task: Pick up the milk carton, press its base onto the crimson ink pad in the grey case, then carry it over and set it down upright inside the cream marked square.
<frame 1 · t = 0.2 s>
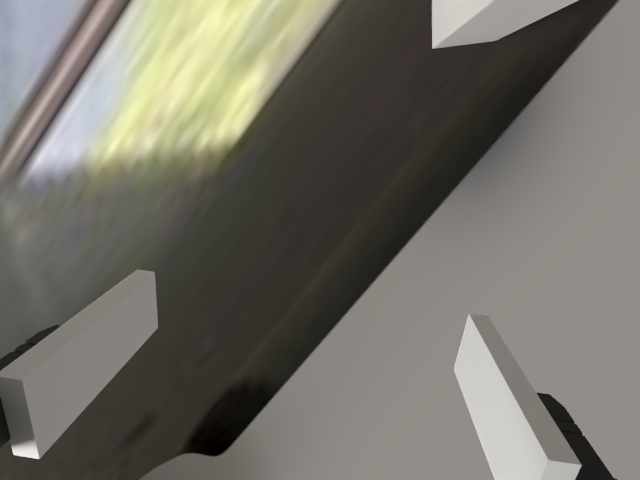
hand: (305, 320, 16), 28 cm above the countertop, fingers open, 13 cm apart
milk: (463, 10, 35), on the countertop
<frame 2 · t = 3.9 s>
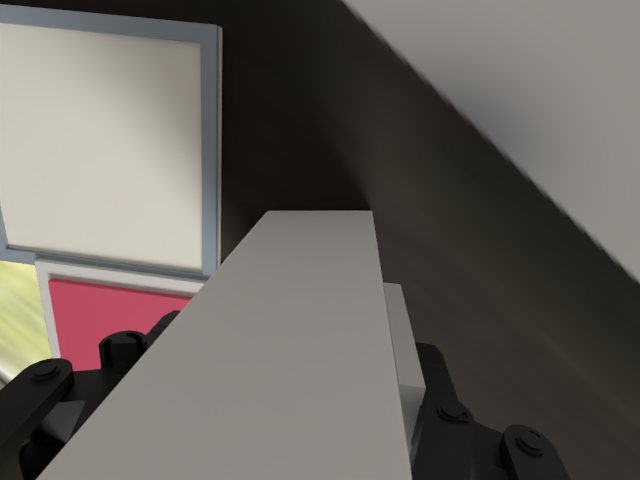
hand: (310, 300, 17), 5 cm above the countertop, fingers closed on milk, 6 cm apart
ink pad: (147, 346, 25), on the countertop
marked square: (100, 156, 21), on the countertop
milk: (320, 257, 22), on the countertop, touching gripper
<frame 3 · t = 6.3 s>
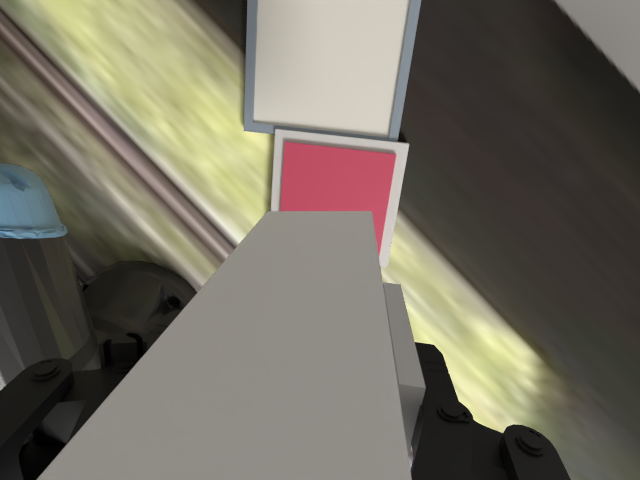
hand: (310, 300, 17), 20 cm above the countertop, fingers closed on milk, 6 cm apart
ink pad: (334, 198, 36), on the countertop
marked square: (328, 55, 32), on the countertop
milk: (320, 258, 22), point 15 cm above the countertop, touching gripper
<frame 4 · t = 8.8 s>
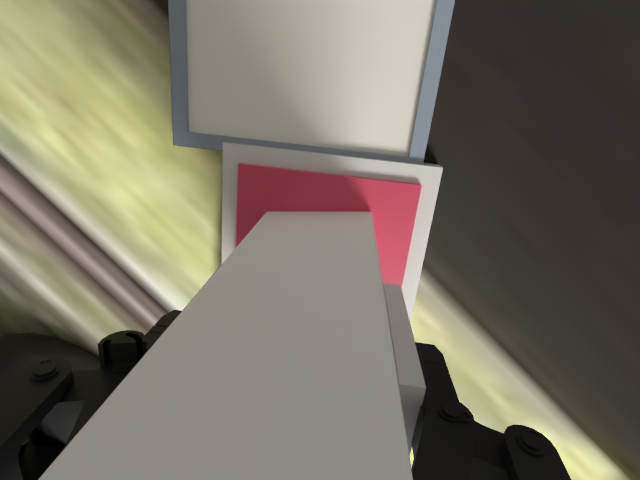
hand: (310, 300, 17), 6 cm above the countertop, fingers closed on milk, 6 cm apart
ink pad: (321, 249, 23), on the countertop
marked square: (307, 19, 19), on the countertop
milk: (320, 258, 22), point 1 cm above the countertop, touching gripper, ink pad
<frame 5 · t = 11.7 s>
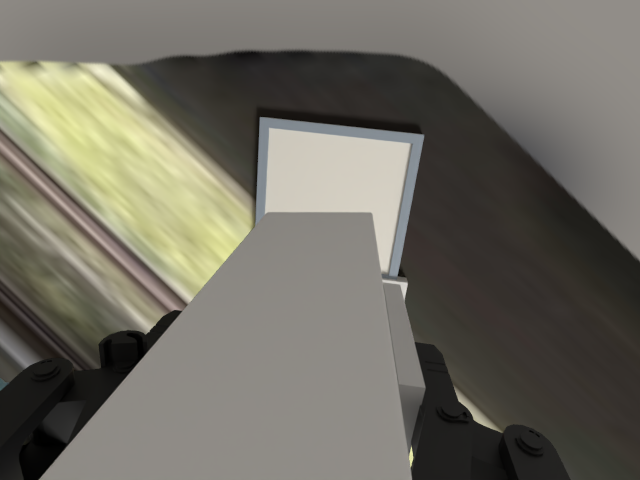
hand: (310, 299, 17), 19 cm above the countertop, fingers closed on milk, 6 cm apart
marked square: (332, 203, 35), on the countertop
milk: (320, 259, 22), point 14 cm above the countertop, touching gripper
when the fingers open (7 cm above the countertop, at t = 14.0 s): milk drops 1 cm, resting on marked square.
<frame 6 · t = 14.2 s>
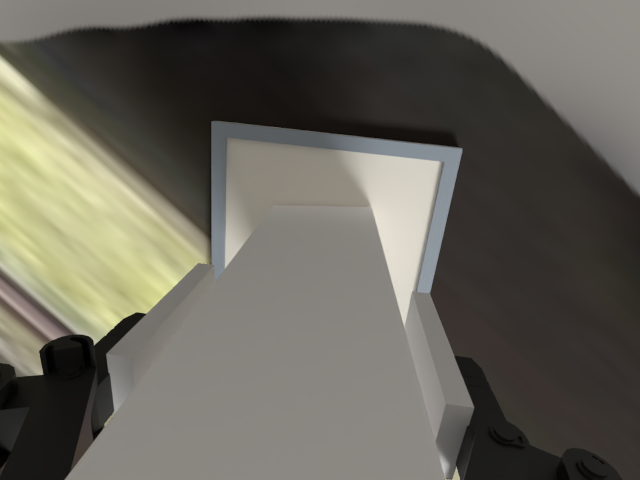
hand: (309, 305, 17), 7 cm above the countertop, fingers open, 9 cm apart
marked square: (323, 247, 24), on the countertop
milk: (322, 250, 23), resting on marked square
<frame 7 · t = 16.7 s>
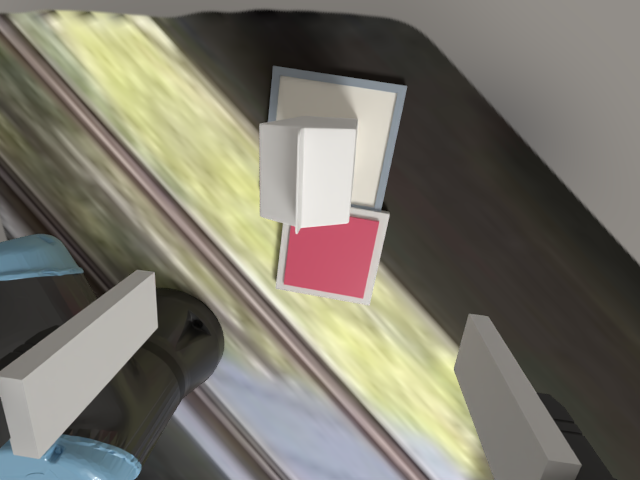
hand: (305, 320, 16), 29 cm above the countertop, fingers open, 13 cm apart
ink pad: (330, 249, 46), on the countertop
marked square: (329, 144, 41), on the countertop
milk: (329, 145, 41), resting on marked square
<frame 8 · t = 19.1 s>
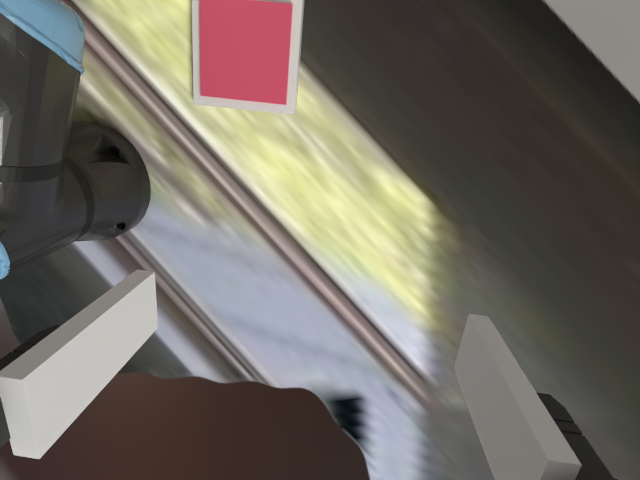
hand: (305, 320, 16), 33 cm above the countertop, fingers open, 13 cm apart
ink pad: (248, 54, 42), on the countertop
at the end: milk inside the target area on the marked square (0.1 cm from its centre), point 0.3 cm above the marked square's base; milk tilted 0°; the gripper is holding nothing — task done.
